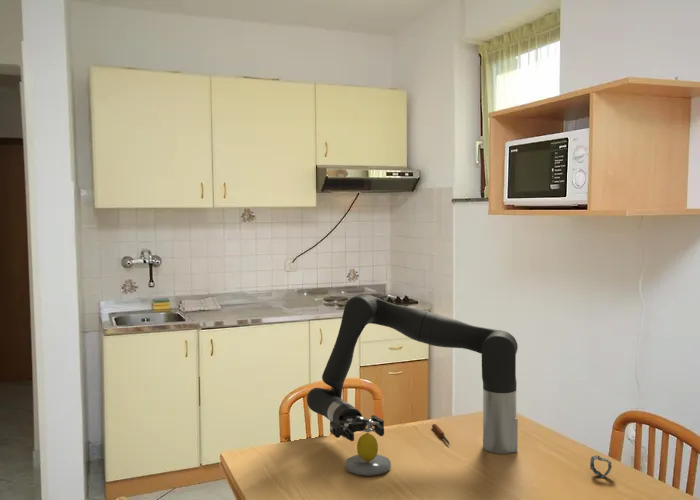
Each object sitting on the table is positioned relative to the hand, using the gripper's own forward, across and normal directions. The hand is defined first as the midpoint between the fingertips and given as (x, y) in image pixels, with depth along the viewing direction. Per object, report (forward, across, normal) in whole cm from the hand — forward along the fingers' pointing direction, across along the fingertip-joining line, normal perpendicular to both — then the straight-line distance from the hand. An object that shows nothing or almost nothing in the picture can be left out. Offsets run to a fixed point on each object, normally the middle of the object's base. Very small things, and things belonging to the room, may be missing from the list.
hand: (367, 435), depth 164 cm
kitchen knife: (-11, +29, +10) cm, 33 cm away
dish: (0, 0, +9) cm, 9 cm away
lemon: (0, 0, +8) cm, 8 cm away
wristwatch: (+30, +51, +9) cm, 60 cm away
